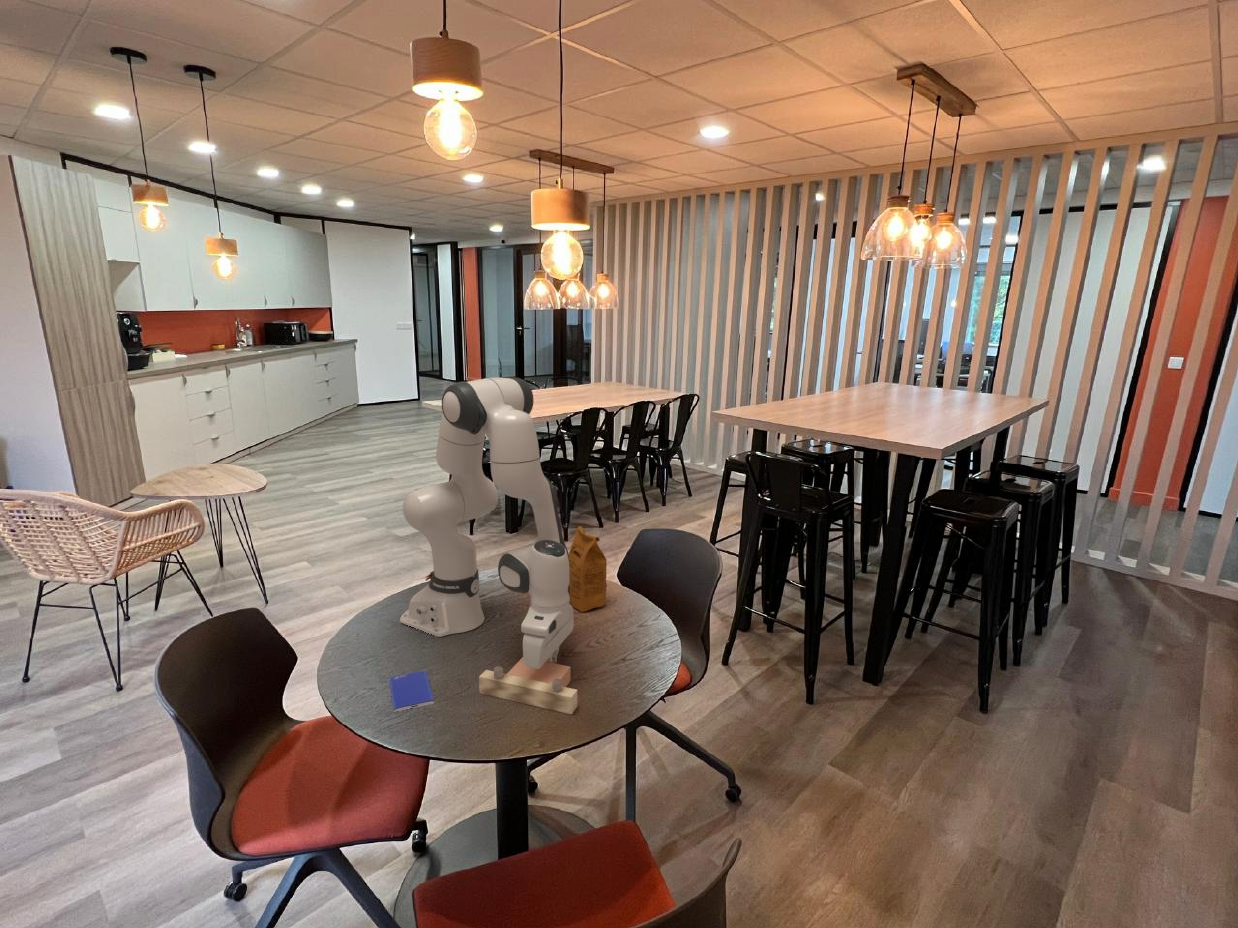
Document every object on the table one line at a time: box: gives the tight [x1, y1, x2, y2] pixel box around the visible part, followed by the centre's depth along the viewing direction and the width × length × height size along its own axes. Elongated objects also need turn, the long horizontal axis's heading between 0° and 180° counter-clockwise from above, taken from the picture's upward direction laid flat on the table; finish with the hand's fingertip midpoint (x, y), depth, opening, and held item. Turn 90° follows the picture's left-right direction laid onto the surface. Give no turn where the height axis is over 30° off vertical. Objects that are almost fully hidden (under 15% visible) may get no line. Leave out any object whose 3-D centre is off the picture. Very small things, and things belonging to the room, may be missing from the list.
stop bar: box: [478, 665, 578, 715], centre depth 136 cm, size 22×3×6 cm, turn 71°
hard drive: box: [388, 670, 435, 713], centre depth 139 cm, size 2×8×12 cm
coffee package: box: [568, 526, 608, 613], centre depth 181 cm, size 10×12×22 cm
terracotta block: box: [506, 656, 572, 687], centre depth 142 cm, size 12×8×4 cm, turn 71°
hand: (550, 665), depth 147 cm, fingers closed
